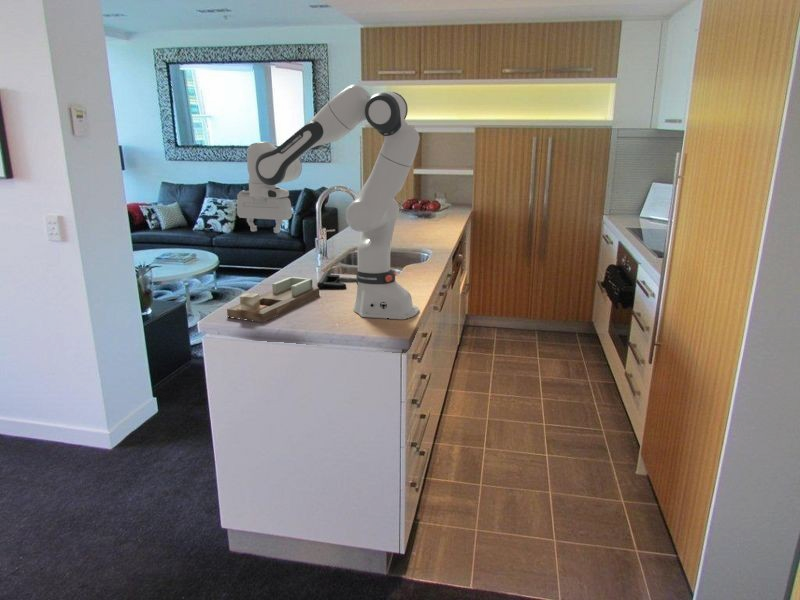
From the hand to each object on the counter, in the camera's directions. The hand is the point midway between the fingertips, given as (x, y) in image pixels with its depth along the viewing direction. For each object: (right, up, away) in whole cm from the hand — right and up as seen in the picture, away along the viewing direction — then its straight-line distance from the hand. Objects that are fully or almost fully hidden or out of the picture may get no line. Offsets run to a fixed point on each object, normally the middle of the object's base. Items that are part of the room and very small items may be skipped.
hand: (265, 231), depth 200 cm
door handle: (+21, -17, +37) cm, 46 cm away
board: (+3, -26, +5) cm, 26 cm away
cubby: (+7, -20, +14) cm, 25 cm away
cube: (-3, -26, -10) cm, 28 cm away
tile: (-3, -26, -8) cm, 28 cm away
